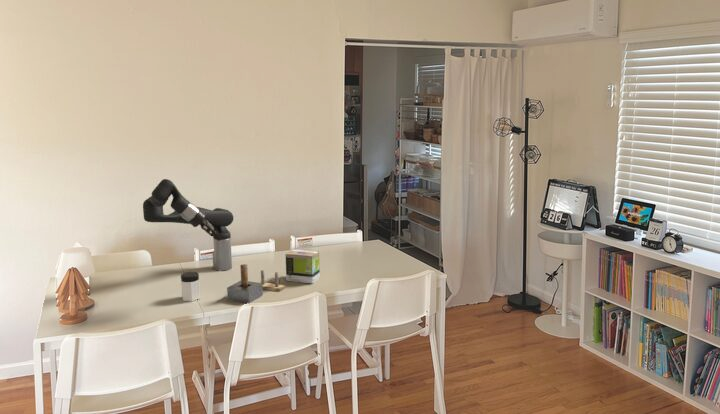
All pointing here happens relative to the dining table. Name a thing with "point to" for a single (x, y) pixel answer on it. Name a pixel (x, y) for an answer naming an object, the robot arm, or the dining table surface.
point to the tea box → (302, 266)
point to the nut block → (245, 292)
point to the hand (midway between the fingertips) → (219, 237)
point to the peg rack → (271, 286)
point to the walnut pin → (244, 276)
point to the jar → (190, 286)
